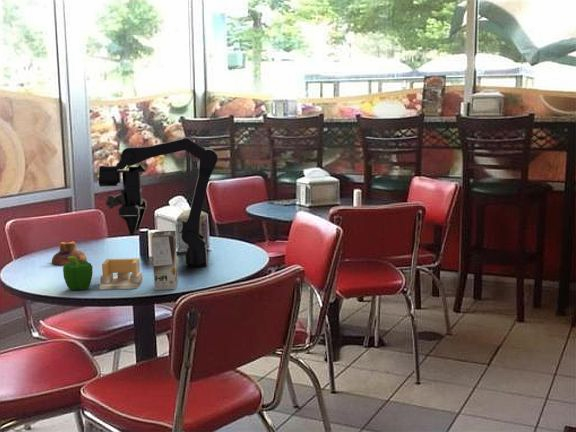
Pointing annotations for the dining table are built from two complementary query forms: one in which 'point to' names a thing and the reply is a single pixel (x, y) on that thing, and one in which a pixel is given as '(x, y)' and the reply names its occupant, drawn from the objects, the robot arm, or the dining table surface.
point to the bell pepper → (77, 274)
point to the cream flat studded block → (121, 281)
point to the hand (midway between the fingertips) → (134, 232)
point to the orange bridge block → (121, 266)
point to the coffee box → (164, 260)
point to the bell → (67, 254)
